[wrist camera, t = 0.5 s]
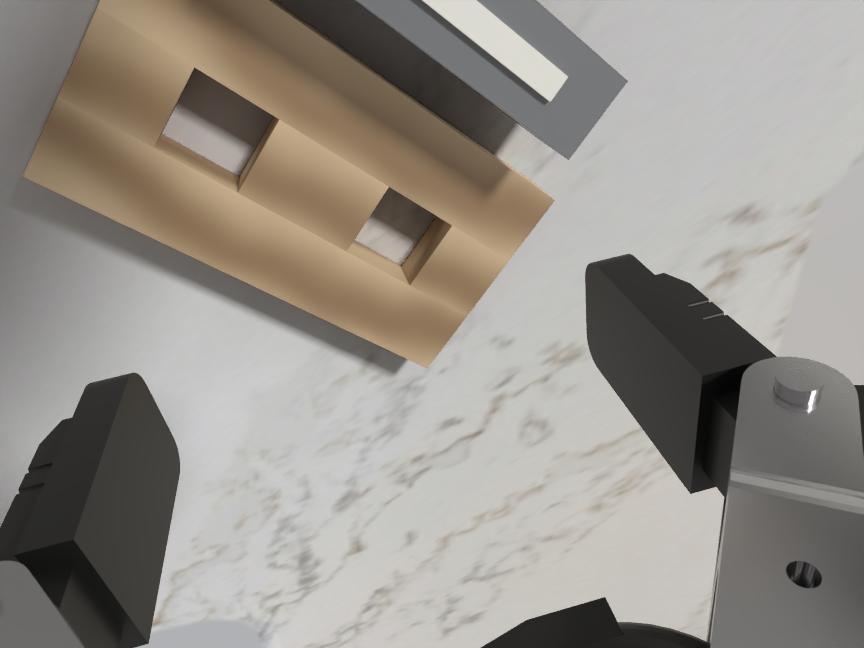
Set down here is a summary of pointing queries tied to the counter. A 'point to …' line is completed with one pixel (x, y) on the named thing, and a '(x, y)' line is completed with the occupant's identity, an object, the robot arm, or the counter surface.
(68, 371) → the counter surface
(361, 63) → the socket board
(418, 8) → the strip
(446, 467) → the counter surface
